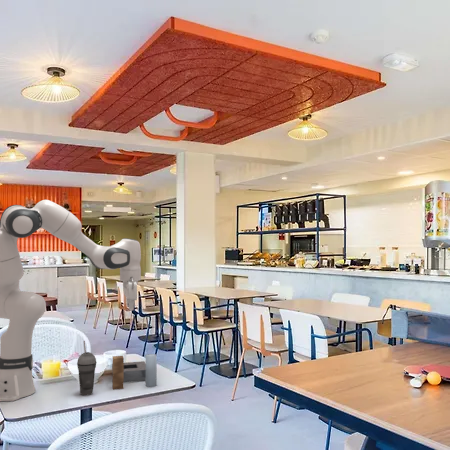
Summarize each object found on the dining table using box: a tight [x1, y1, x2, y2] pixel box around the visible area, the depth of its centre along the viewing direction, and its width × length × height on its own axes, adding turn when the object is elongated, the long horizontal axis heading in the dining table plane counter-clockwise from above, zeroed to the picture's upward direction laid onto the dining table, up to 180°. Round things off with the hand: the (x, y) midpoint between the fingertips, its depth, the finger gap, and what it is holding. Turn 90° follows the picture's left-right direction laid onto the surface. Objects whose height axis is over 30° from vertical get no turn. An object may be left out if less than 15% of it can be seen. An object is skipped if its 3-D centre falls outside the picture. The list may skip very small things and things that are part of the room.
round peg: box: [144, 353, 158, 388], centre depth 194 cm, size 4×4×12 cm
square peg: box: [111, 355, 125, 391], centre depth 191 cm, size 4×4×12 cm
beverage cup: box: [76, 340, 97, 396], centre depth 184 cm, size 7×7×20 cm
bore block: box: [111, 360, 146, 384], centre depth 205 cm, size 14×14×4 cm
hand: (130, 308), depth 206 cm, fingers open, 8 cm apart
